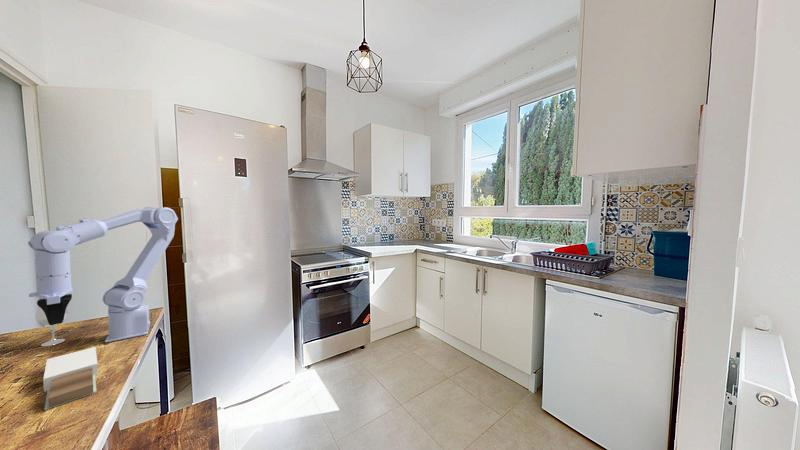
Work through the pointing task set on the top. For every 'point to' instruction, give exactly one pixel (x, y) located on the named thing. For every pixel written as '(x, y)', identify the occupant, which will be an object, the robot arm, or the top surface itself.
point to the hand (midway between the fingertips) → (56, 323)
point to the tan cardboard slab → (70, 387)
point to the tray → (70, 365)
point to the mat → (71, 400)
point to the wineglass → (43, 320)
